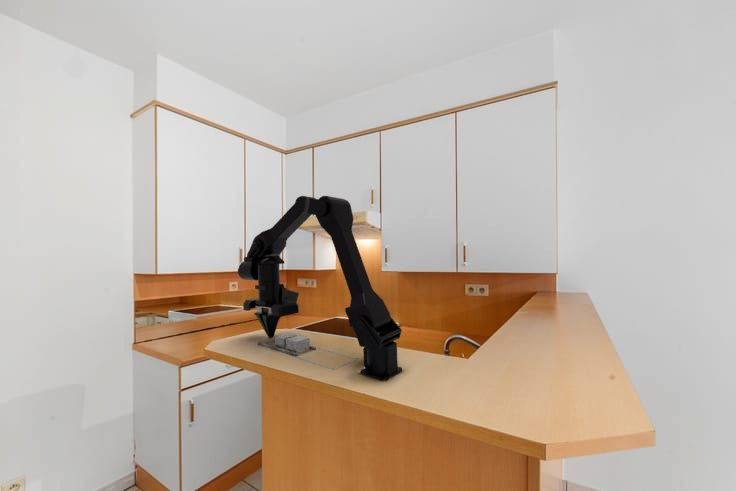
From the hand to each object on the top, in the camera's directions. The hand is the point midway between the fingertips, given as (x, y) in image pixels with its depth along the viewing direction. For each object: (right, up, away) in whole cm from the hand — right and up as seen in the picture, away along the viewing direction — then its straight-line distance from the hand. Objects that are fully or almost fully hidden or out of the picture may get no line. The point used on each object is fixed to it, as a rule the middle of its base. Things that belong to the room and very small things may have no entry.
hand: (271, 337), depth 84 cm
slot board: (+5, -2, -4) cm, 7 cm away
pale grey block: (+5, -1, -5) cm, 7 cm away
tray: (+17, -2, -14) cm, 22 cm away
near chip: (+9, -1, -8) cm, 12 cm away
